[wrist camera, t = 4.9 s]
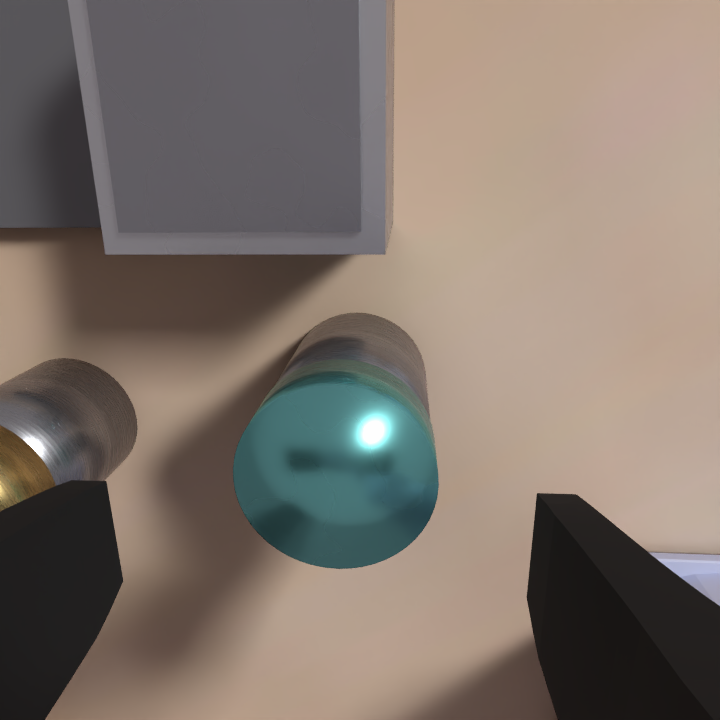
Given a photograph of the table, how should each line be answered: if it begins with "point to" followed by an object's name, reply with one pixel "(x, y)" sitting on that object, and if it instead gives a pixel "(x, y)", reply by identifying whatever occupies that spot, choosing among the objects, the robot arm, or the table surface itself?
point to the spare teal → (342, 447)
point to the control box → (239, 124)
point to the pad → (42, 121)
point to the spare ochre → (61, 428)
